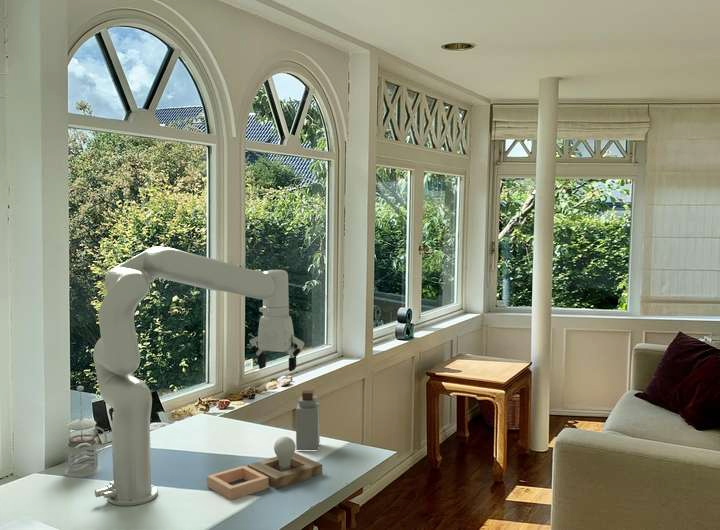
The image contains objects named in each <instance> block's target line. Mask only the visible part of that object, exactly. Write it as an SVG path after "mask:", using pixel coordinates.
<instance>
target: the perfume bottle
mask: <svg viewBox="0 0 720 530" xmlns="http://www.w3.org/2000/svg"><path fill="white" fill-rule="evenodd" d="M301 395H302V396H299V398H298V403H297V405H296V408H295V437H296V438H295V442H296V443H295V446H296V448H295V451H296V450H318V451H319V449H318V447H319V448H320V445H319V443H321V440H320V438H321V437H320V434H321V433H320V430H321V429H320V402H317V398H318V396H314V390H313V389H311V390H309V389H307V390H302V392H301Z"/></svg>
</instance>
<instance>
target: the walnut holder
mask: <svg viewBox="0 0 720 530" xmlns="http://www.w3.org/2000/svg"><path fill="white" fill-rule="evenodd" d="M246 466H247V467H249V468H251V469H253V470H255V471H257V472H259V473H261V474H263V475H265V476H267V477H269V488H272V489H275V490H278V489H282V488H284V487H288V486H291V485H294V484H297V483H301V482H303V481H306V480H310V479H313V478H315V477H316V478H317V477H319V475H320V476H322V475H323V464H322V463H320V462H319V461H315V460H313V459H311V458H309V457H306V456H304V455H301V454H299V453H296V451H295V452H294V454H293V456H292V458H291V463H290V470H287V471H284V472H281V471H280V470H279V469H280V465H279V460H278V457H277V456H276V455H275V456H273V457H269V458H266V459H262V460H259V461H255V462H252V463H249V464H247V465H246ZM291 468H292V469H291Z"/></svg>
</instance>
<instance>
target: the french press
mask: <svg viewBox="0 0 720 530" xmlns="http://www.w3.org/2000/svg"><path fill="white" fill-rule="evenodd" d="M76 391H78V392H79V396H80V398H79V399H80V401H79V403H80V405H82V391H84V386H82V385H79V386H77V388H76ZM82 415H83V414H82V411H80V418H77V419H74V420H72V421H70V422H68V423H67V424H66V429H68V430H71V431H81V433H80V434H76V435H73V436H72V437H69V438H68V442H69V443H68V444H67V458H68V459H67V460H68V461H67V463H68V465H67V466H68V468H67V470H65V472H64V474H65V476H67V477H70V478H85V477H89V476H93V475H95V474H98V473H99V472H101V470H100V469H102V468H101V467H100V466H99V464H98V461H99V460H98V458H99V456H98V454H99V453H100V452H102V451H103V450H104V449H105V447H106V445H107V442H108V436H107V433H106V432H105V430H104V429H103V428H102V427H99V426H98V425H97V422H96V421H95V420H93V419H90V418H82V417H83V416H82ZM93 428H94V432H95V433H97V432H98V430H100V431H102V432H103V433H104V443H103V445H102V446H101V447H100V448H99V449H97V441H96V440H95V439H96V436H95V435H94V434H90V433H89V434H83V431H85V430H89V429H93ZM81 444H82V445H81ZM89 444H90V445H89Z"/></svg>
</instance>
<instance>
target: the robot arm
mask: <svg viewBox="0 0 720 530" xmlns="http://www.w3.org/2000/svg"><path fill="white" fill-rule="evenodd" d="M157 279H163V280H166V281H170V282H171V281H172V282H173V283H174V282H175V283H180V284H184V285H189V286H193V287H196V288H200V289H206V290H211V291H215V292H224V293H225V292H226V293H231V294H236V295H240V296H244V297H246V298H252V299H257V300H262V306H261V307H259V309H258V311H259V312H260V313H262V315H261V316H260V318H259V323H258V324H259V325H258V332H257V336H255V337H253V338H251V339H249V344H250V346H251V348H252V351H253V352H254V353H255V354H256V356H257V364H258V365H257V366H258V369H259V370H262V369H264V368H266V367H267V365H266V364H267V360H266V357H267V355H266V352H280V353H281V352H283V353H284V352H286V353H287V354H288V355H289V357H288V371H289V372H293V371H295V370H296V368H297V357H298V355H299V354H300V353H302V351H303V348H304V346H305V342H304V341H303V340H301V339H299V338H298V337H296V336H295V332H294V325H293V319H292V316H291V315H290V310H289V308H290V306H289V305H290V303H289V297H290V296H289V274H288V272H287V271H286V270H284V269H269V270H268V269H267V270H265V271H264V270H263V271H262V270H255V269H254V270H253V269H251V268H247V267H243V266H239V265H235V264H231V263H228V262H225V261H223V260H219V259H215V258H211V257H208V256H204V255H200V254H196V253H191V252H187V251H184V250H180V249H176V248H172V247H164V246H153V247H150V248H148V249H146V250H144V251H143V252H141V253H139V254H137V255H136V256H133V257H131V258H130V259H128V260H126V261H124V262H122V263H121V264H119V265H117V266H115V267H114V268H112V269H111V270H110V271H108V273H107V274H106V276H105V278H104V282H103V283H104V288H105V291H106V295H105V296H104V297H103V299H102V301H101V303H100V305H99V306H100V307H99V311H98V323H99V324H98V326H99V331H100V337H99V339H98V340H97V341H96V343H95V345H94V348H93V352H92V353H93V364H94V368H95V374H96V378H97V379H96V380H97V384H98V389H99V392H100V396H101V397H102V400H103V401H104V403H106V404H107V405H108V406H110V407H111V408H112V409H113V416H112V417H113V418H112V422H111V423H112V425H111V441H112V442H111V445H112V446H111V447H112V449H111V450H112V477H113V478H112V480H110V481H109V485H106V487H103V488H102V487H101V488H98V489H95V490H94V496H95V498H99V497H103V498H104V499H107V501H108V502H109V503H110V504H113V505H116V506H122V507H124V506H125V507H126V506H137V505H142V504H145V503H147V502H151V501H152V500H153V499H154V500H155V498H156V497H157V496H158V494H159V493H158V492H159V491H158V488H157V486H155V485H153V484H152V452H151V451H152V449H151V413H152V405H153V397H152V392H151V390H150V388H149V387H148V385H147V384H146V383H145V382H144V381H142V380H141V379H139V378H137V377H135V376H134V373H135V372H136V371H137V369H138V368H139V366H140V363H141V351H140V347H139V341H138V337H137V331H136V327H135V325H136V324H135V312H136V310H137V307H138V306H139V304H140V303H141V302H142V301H143V300H144V299H145V298H146V297H147V295H148V293H149V290H150V284H151V283H152V282H154V281H155V280H157ZM295 345H297V347H296V349H295Z"/></svg>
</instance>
